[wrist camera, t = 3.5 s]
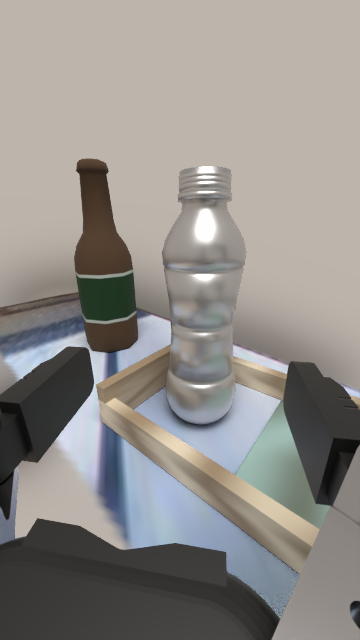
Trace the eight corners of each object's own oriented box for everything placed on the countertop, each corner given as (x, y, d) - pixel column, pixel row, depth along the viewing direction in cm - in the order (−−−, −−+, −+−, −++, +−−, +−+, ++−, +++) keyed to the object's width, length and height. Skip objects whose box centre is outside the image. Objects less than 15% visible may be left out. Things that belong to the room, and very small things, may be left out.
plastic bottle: (153, 421, 22) (137, 167, 15) (183, 381, 28) (181, 183, 21) (223, 445, 20) (242, 154, 13) (240, 395, 26) (260, 176, 18)
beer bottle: (76, 344, 37) (43, 160, 29) (117, 328, 43) (99, 170, 35) (108, 359, 33) (79, 147, 24) (148, 339, 39) (137, 162, 30)
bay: (451, 459, 18) (473, 416, 17) (523, 747, 8) (593, 702, 7) (192, 359, 33) (192, 332, 31) (102, 421, 22) (96, 384, 21)
